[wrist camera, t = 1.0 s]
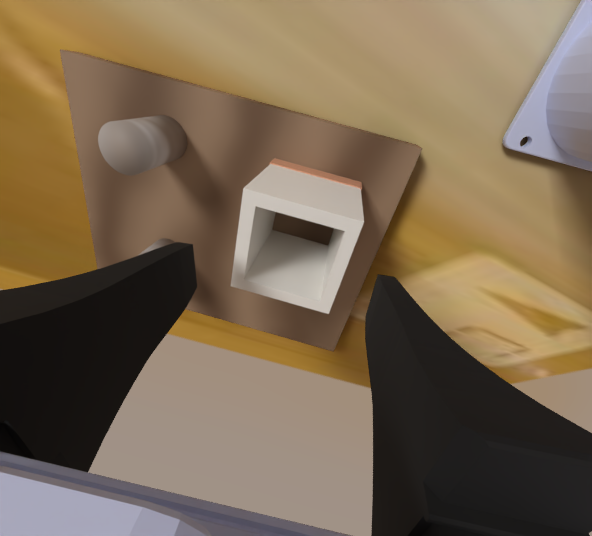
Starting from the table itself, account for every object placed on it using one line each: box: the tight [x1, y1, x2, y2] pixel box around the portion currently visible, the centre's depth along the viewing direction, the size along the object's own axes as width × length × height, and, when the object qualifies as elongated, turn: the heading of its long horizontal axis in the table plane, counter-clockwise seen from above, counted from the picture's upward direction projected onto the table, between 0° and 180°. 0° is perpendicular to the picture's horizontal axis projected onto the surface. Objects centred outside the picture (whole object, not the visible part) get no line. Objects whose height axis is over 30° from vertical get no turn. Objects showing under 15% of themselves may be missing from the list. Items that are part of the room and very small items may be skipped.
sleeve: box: [231, 158, 364, 314], centre depth 15 cm, size 5×5×6 cm
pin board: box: [60, 50, 422, 351], centre depth 19 cm, size 20×16×5 cm
